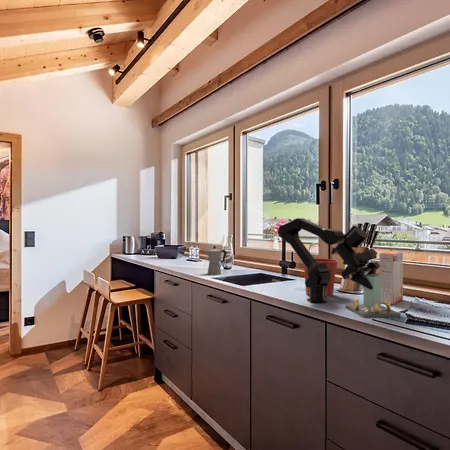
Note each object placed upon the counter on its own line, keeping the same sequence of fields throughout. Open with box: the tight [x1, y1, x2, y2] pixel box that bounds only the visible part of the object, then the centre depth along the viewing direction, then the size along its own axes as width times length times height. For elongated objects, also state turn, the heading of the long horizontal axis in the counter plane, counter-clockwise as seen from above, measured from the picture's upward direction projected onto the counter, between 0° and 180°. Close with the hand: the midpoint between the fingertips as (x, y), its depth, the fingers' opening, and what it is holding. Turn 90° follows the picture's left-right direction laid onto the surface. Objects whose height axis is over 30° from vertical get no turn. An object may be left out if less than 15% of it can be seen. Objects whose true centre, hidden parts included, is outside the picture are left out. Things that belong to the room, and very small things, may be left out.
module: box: [362, 274, 382, 308], centre depth 136 cm, size 4×5×11 cm
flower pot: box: [302, 257, 339, 298], centre depth 171 cm, size 16×16×16 cm
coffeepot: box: [205, 245, 228, 276], centre depth 241 cm, size 15×9×18 cm, turn 118°
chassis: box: [344, 298, 401, 319], centre depth 137 cm, size 15×14×5 cm
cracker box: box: [379, 250, 404, 305], centre depth 157 cm, size 14×6×21 cm, turn 140°
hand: (375, 288), depth 135 cm, fingers closed on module, 5 cm apart
